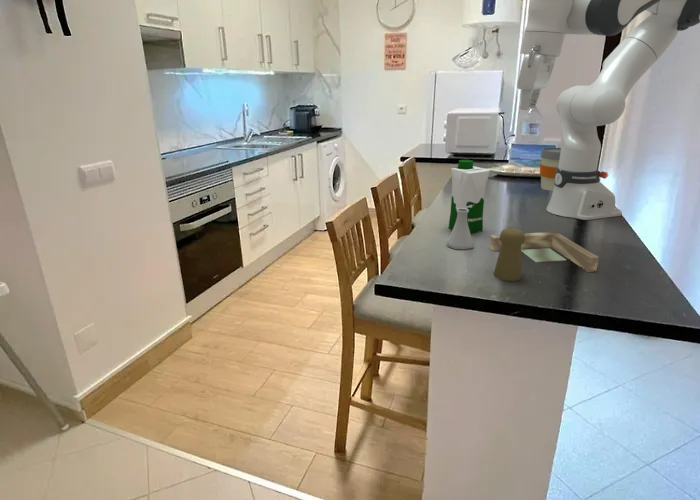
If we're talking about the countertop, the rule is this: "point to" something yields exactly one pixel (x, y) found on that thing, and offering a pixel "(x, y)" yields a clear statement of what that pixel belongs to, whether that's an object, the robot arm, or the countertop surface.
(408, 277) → the countertop surface
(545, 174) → the reusable coffee cup
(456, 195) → the milk carton
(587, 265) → the corner arena
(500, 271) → the cork
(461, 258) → the countertop surface
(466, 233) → the flask
